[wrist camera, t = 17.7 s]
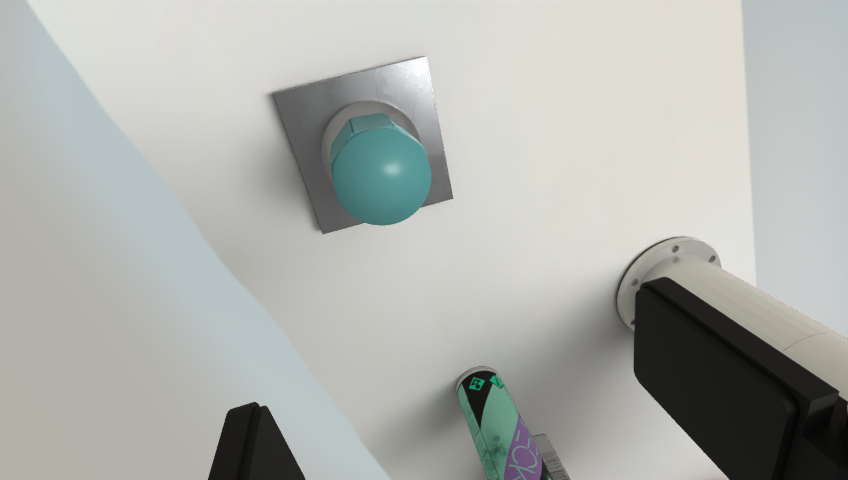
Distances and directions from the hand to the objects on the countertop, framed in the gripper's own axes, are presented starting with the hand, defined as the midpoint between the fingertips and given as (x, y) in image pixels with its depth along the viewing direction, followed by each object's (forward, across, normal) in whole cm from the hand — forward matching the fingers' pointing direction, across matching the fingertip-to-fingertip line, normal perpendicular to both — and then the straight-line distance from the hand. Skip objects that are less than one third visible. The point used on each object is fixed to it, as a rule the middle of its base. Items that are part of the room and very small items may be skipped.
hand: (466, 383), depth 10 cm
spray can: (+28, -5, +30) cm, 42 cm away
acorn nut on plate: (+28, 0, 0) cm, 28 cm away
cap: (+26, 0, 0) cm, 26 cm away
